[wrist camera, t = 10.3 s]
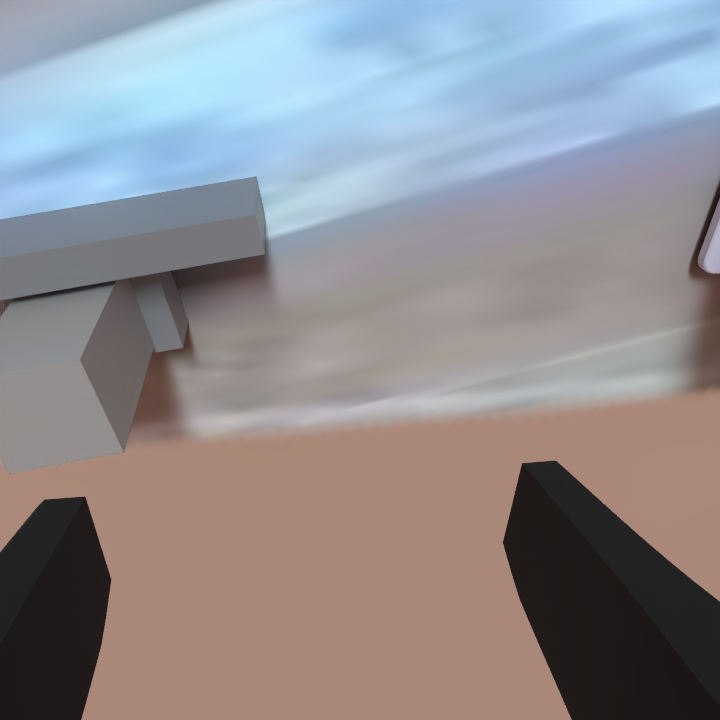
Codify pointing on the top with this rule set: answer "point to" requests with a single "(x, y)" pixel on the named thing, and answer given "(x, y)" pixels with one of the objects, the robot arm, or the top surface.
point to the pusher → (102, 310)
